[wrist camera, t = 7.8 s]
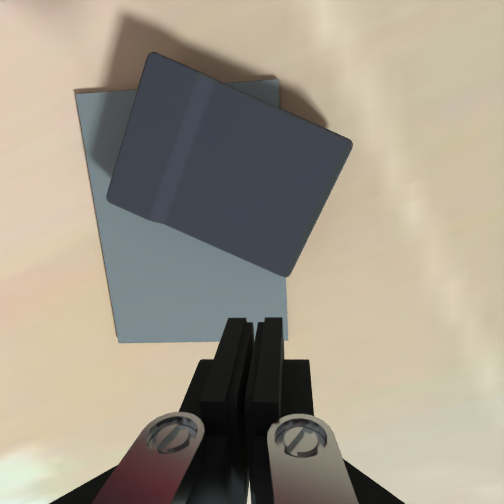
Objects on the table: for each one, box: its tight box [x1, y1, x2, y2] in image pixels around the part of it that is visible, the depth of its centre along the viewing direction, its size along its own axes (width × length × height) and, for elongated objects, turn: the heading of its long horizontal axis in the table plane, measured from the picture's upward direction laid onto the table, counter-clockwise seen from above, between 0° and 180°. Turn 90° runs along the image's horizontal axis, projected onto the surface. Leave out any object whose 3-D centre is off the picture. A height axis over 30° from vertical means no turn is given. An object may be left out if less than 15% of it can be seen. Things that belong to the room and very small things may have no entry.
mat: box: [76, 79, 288, 343], centre depth 33 cm, size 16×22×1 cm
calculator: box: [106, 52, 353, 277], centre depth 29 cm, size 11×4×15 cm
